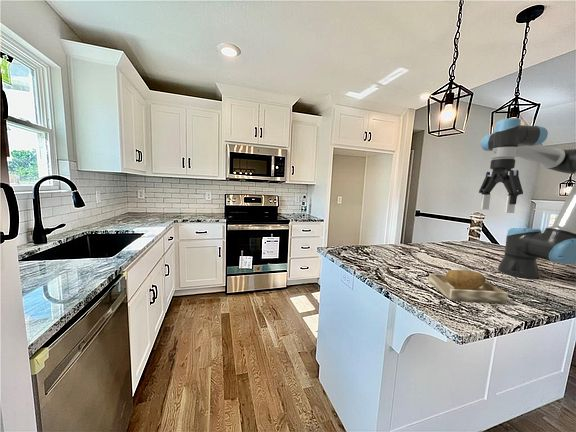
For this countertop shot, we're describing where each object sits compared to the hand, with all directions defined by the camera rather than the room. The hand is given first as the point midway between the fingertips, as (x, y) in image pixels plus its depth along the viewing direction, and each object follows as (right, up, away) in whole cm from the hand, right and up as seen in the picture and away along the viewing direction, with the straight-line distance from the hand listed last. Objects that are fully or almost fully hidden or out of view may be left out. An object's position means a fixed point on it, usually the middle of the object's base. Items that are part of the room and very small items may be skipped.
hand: (496, 211), depth 101 cm
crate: (-15, -33, -3) cm, 36 cm away
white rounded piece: (-6, -31, +12) cm, 34 cm away
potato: (-15, -32, -3) cm, 36 cm away
